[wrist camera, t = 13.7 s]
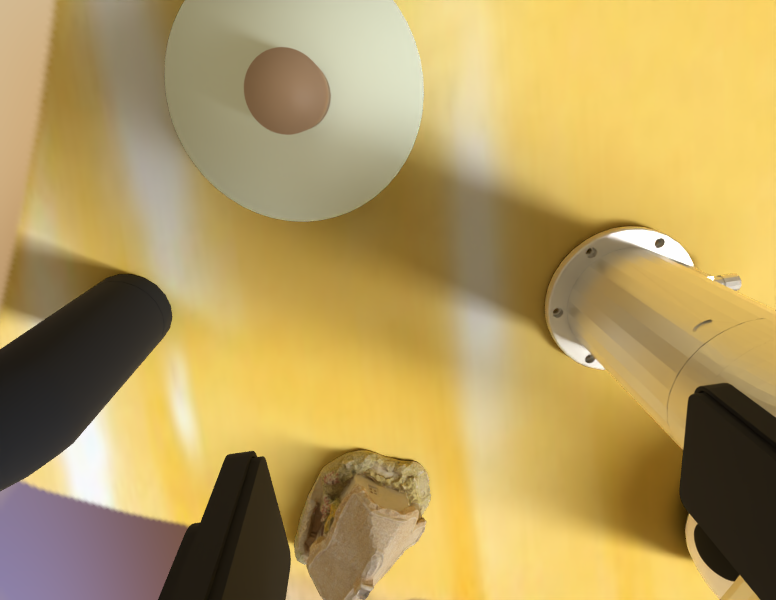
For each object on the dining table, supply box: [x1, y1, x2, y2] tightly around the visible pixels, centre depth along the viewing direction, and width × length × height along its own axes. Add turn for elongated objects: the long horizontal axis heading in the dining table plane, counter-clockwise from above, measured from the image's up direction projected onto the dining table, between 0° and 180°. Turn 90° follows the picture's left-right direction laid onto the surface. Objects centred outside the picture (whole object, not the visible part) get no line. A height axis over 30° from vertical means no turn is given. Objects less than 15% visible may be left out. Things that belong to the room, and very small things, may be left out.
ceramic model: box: [294, 450, 431, 600], centre depth 45 cm, size 14×11×10 cm
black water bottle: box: [0, 274, 172, 491], centre depth 27 cm, size 6×6×30 cm
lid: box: [164, 0, 424, 222], centre depth 28 cm, size 15×15×6 cm
